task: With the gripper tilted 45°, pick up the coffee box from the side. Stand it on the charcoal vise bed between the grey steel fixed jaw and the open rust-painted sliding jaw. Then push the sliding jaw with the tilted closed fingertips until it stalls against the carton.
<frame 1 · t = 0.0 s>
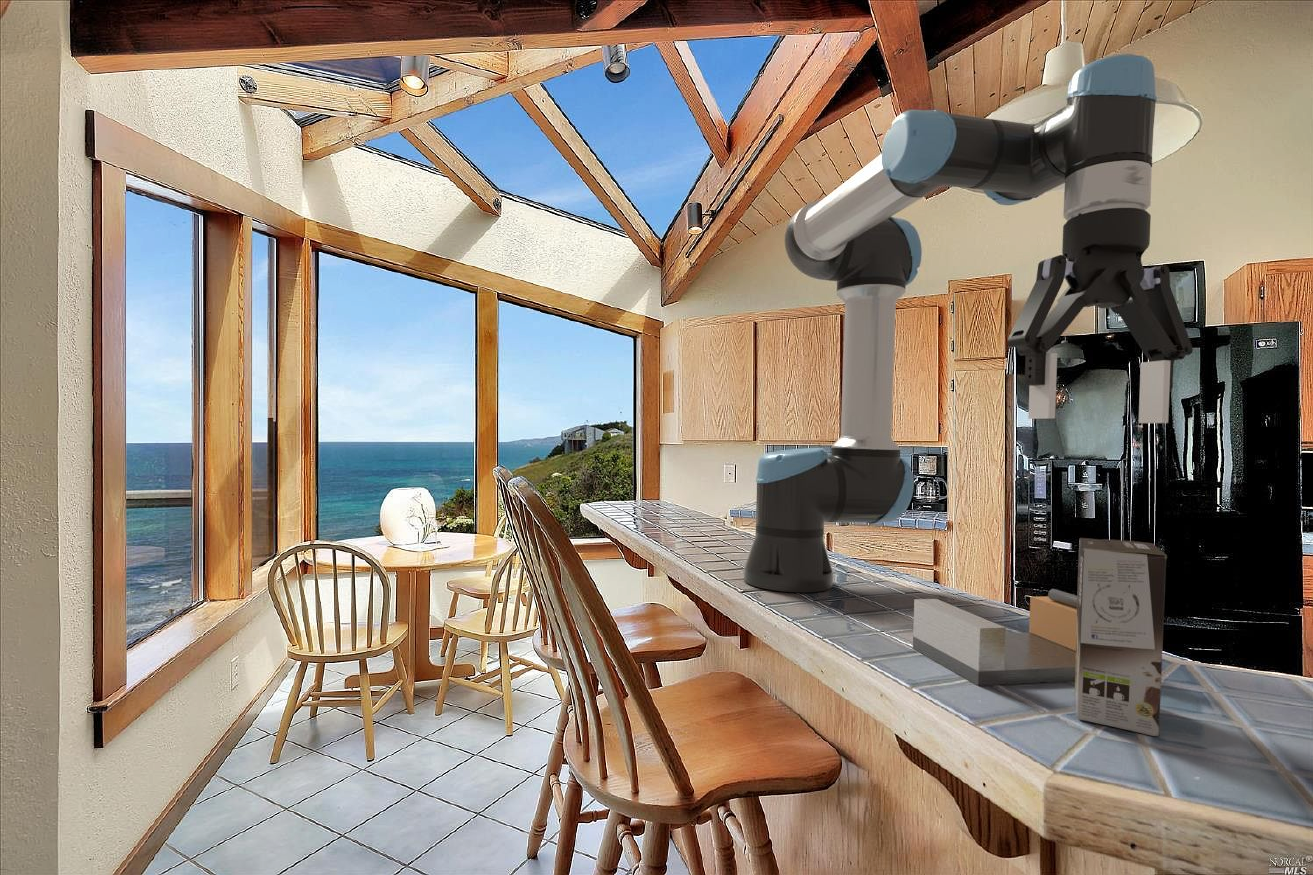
hand: (1098, 421, 69), 28 cm above the counter, tool pointing down, fingers open, 13 cm apart
coffee box: (1113, 714, 63), on the counter
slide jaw: (1078, 621, 78), point 5 cm above the counter, slide at 4.1 cm
vise bed: (1020, 662, 77), on the counter
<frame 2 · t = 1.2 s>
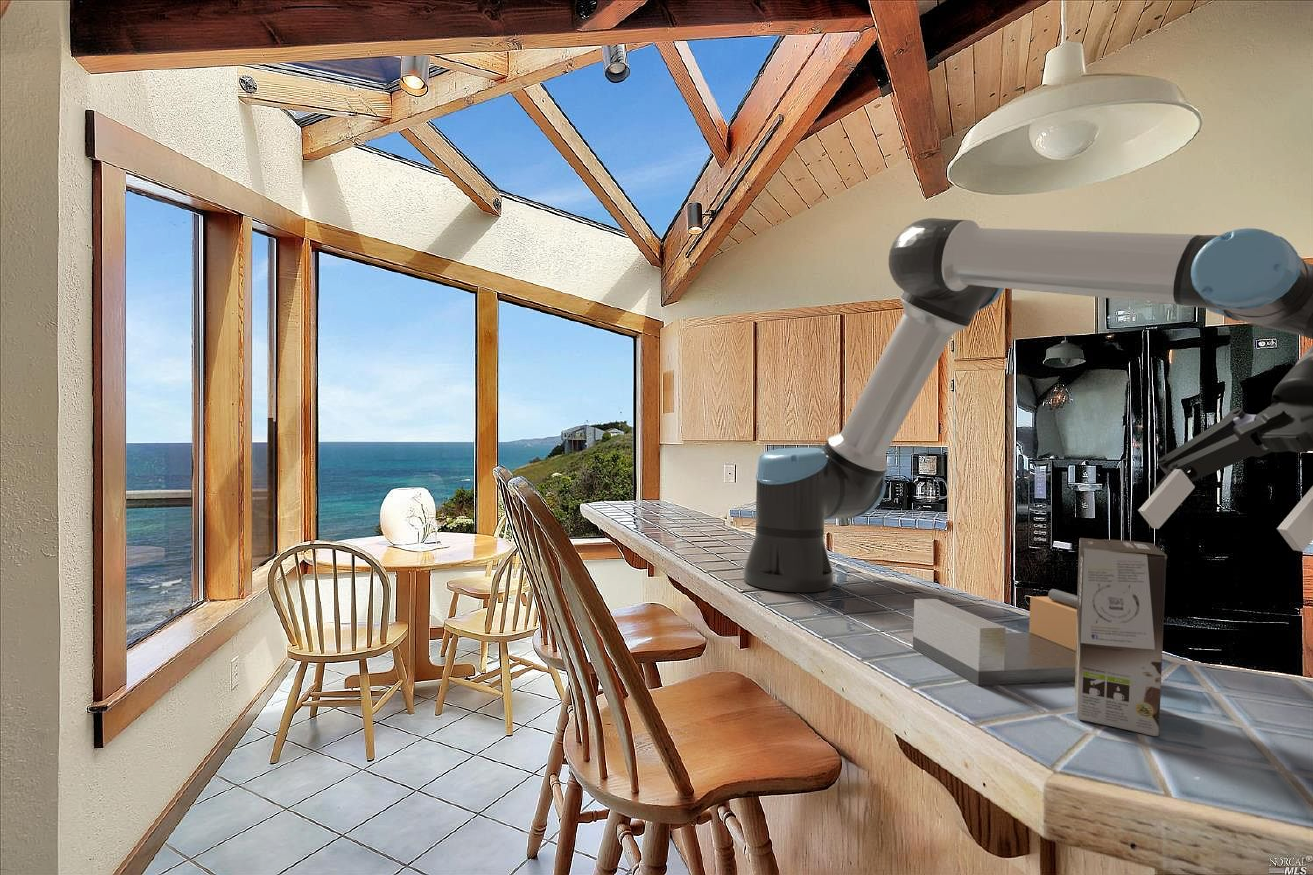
hand: (1211, 529, 65), 18 cm above the counter, tool tilted 45°, fingers open, 13 cm apart
nothing on the counter moved.
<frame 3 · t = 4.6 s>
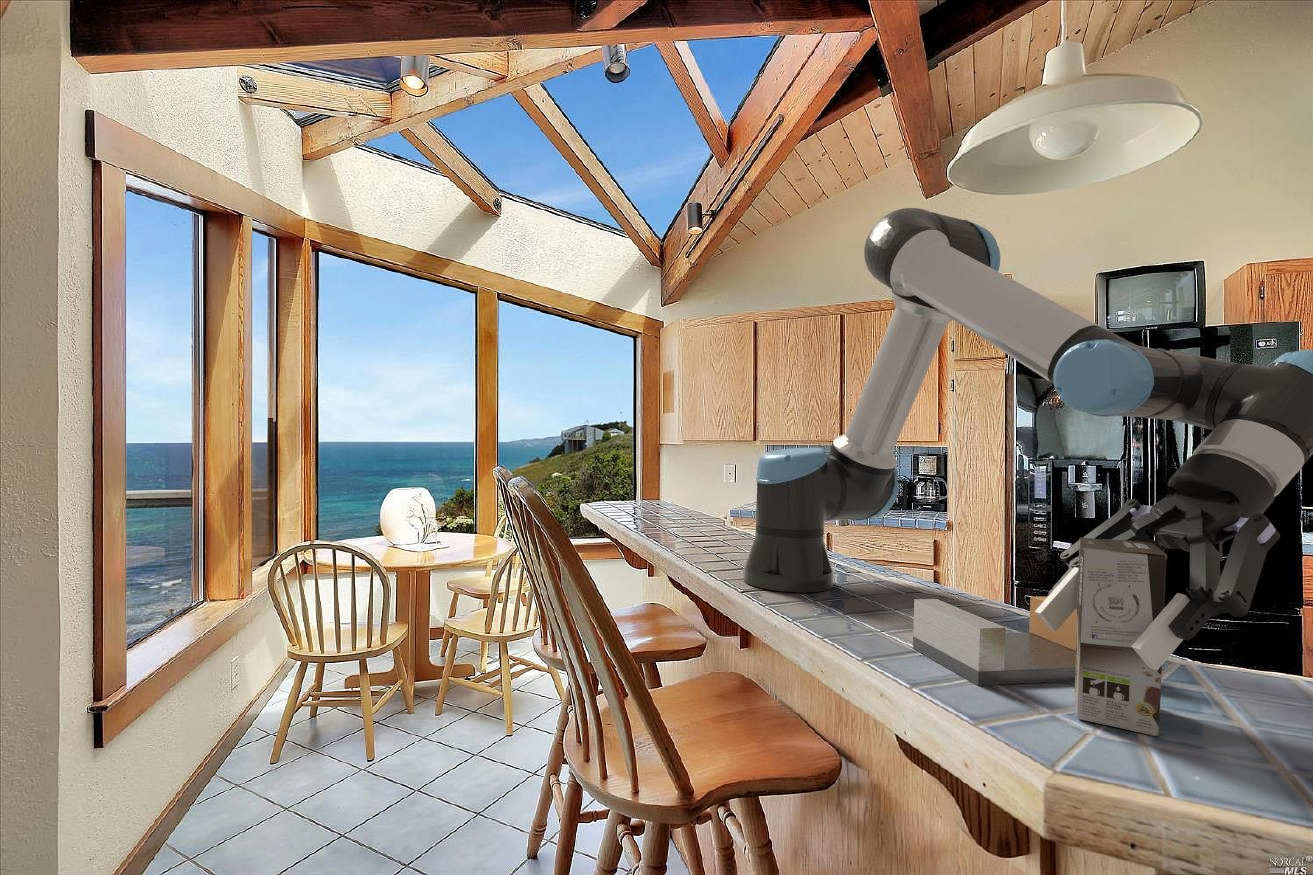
hand: (1090, 638, 63), 7 cm above the counter, tool tilted 45°, fingers closed on coffee box, 10 cm apart
coffee box: (1113, 713, 63), on the counter, touching gripper
everything else where it was.
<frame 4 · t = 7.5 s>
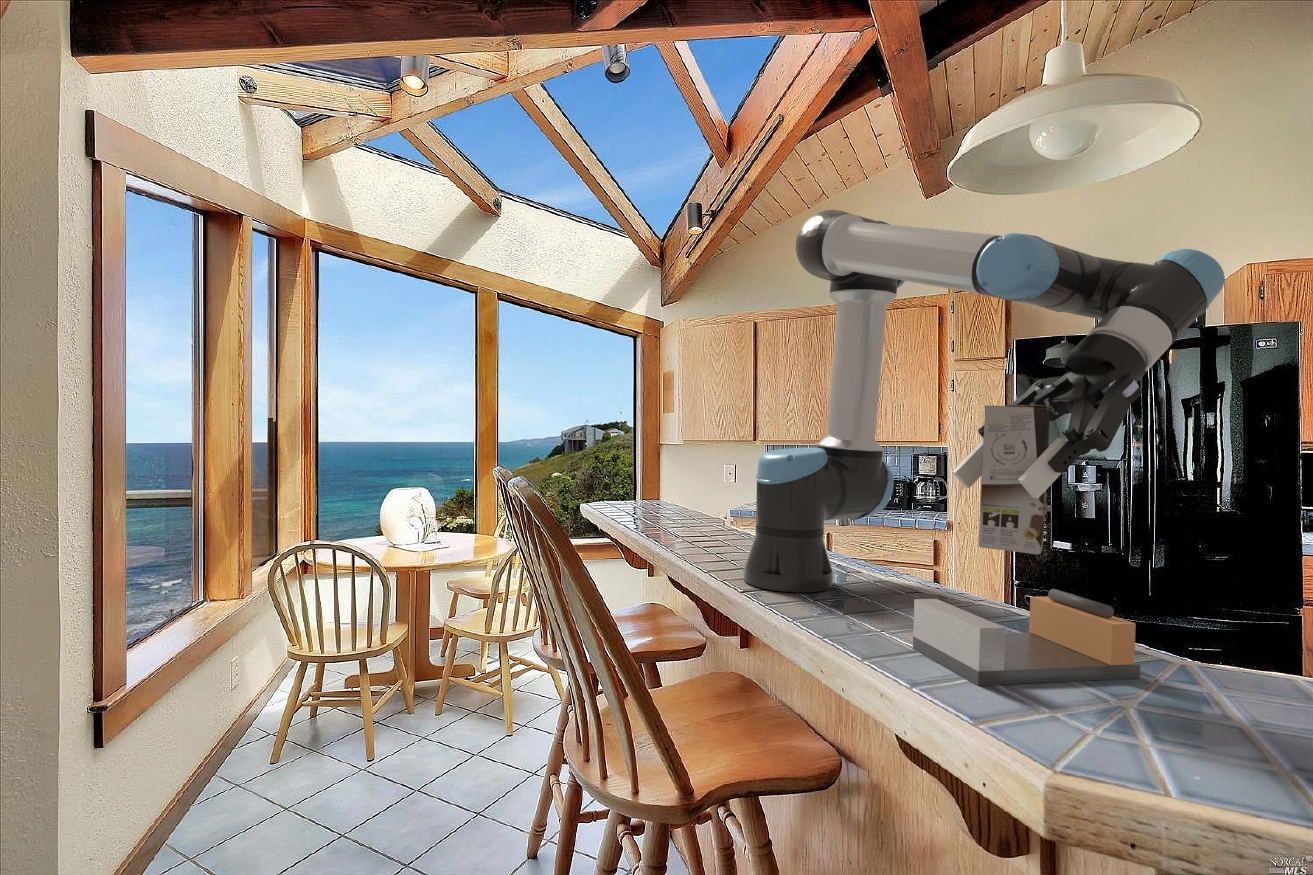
hand: (991, 484, 75), 21 cm above the counter, tool tilted 45°, fingers closed on coffee box, 10 cm apart
coffee box: (1011, 547, 76), point 13 cm above the counter, touching gripper
everything else where it was.
when the fingers open (10 cm above the counter, at t = 10.2 s): coffee box drops 1 cm, resting on vise bed.
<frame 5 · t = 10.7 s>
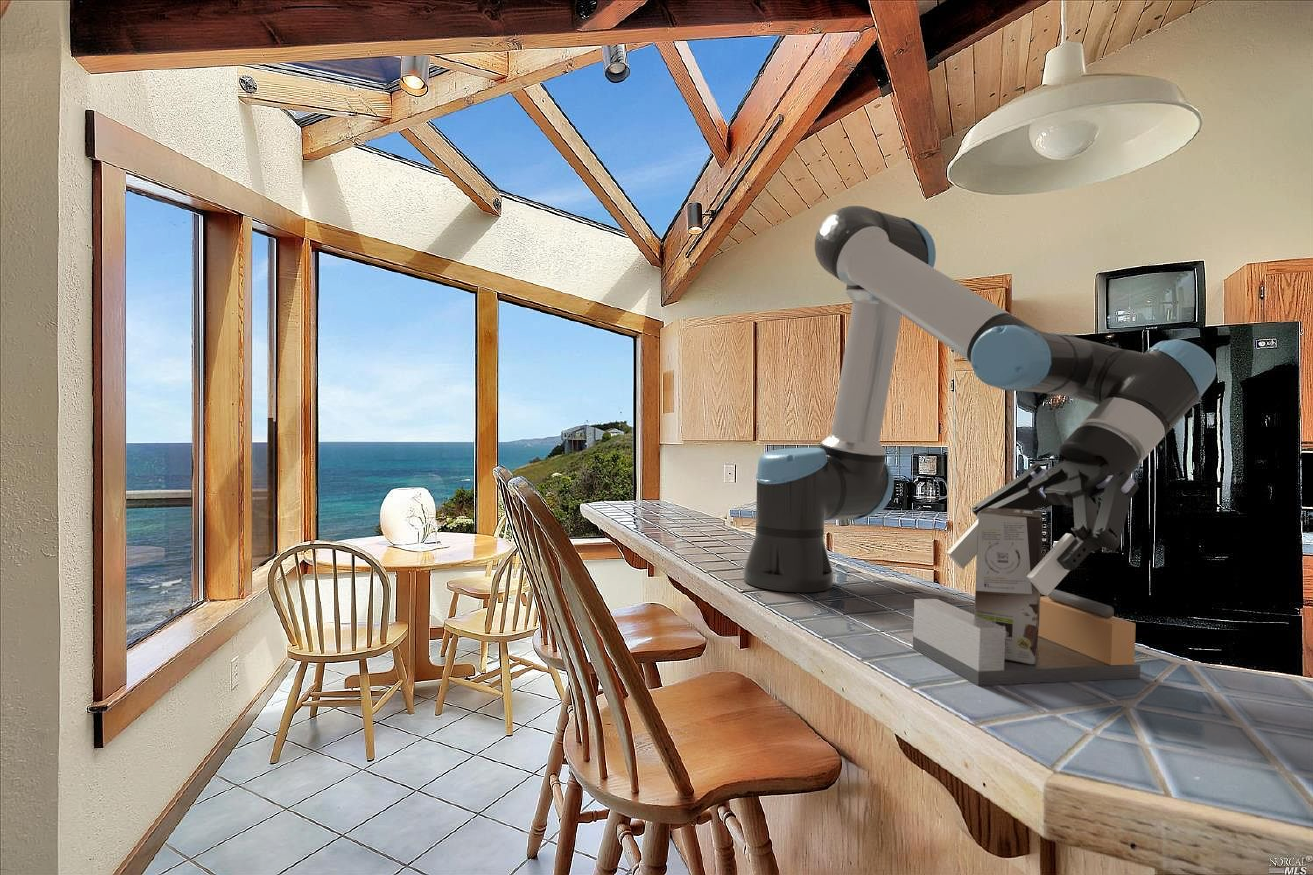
hand: (991, 572, 76), 10 cm above the counter, tool tilted 45°, fingers open, 13 cm apart
coffee box: (1006, 651, 77), point 1 cm above the counter, touching vise bed
everything else where it was.
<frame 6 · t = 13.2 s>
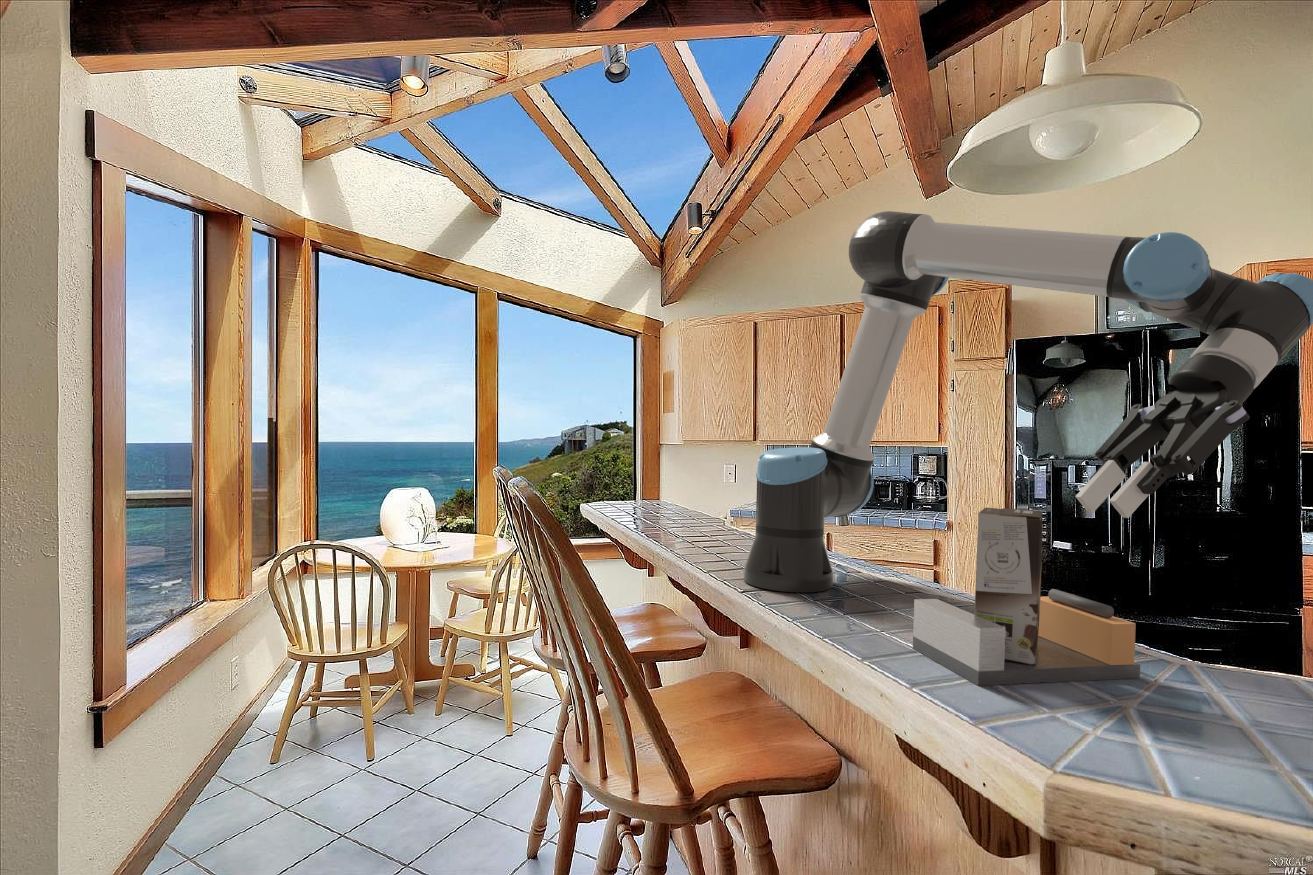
hand: (1101, 506, 78), 18 cm above the counter, tool tilted 45°, fingers open, 4 cm apart
nothing on the counter moved.
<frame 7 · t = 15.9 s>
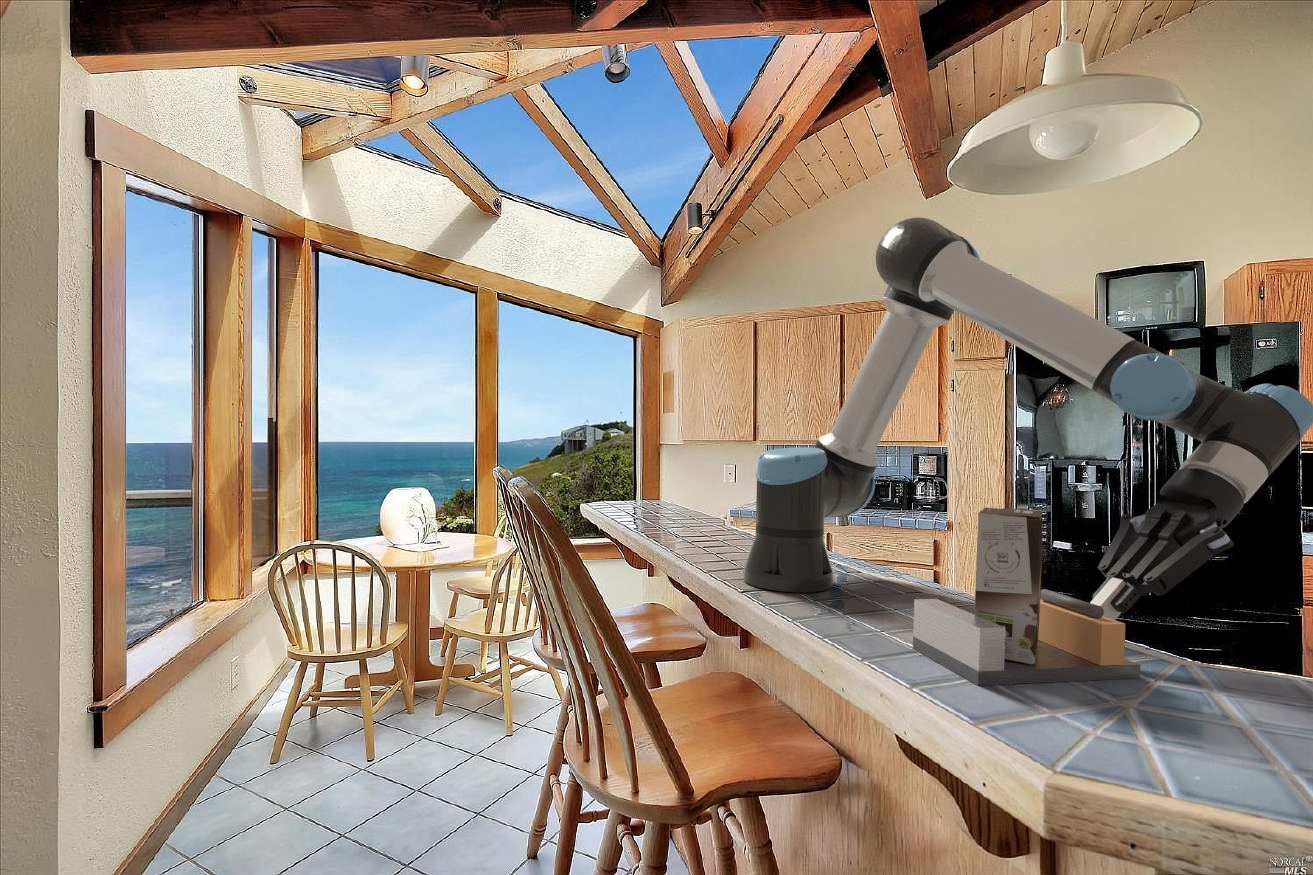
hand: (1090, 625, 78), 4 cm above the counter, tool tilted 45°, fingers closed
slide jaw: (1069, 622, 78), point 5 cm above the counter, slide at 2.8 cm, touching gripper
everything else where it was.
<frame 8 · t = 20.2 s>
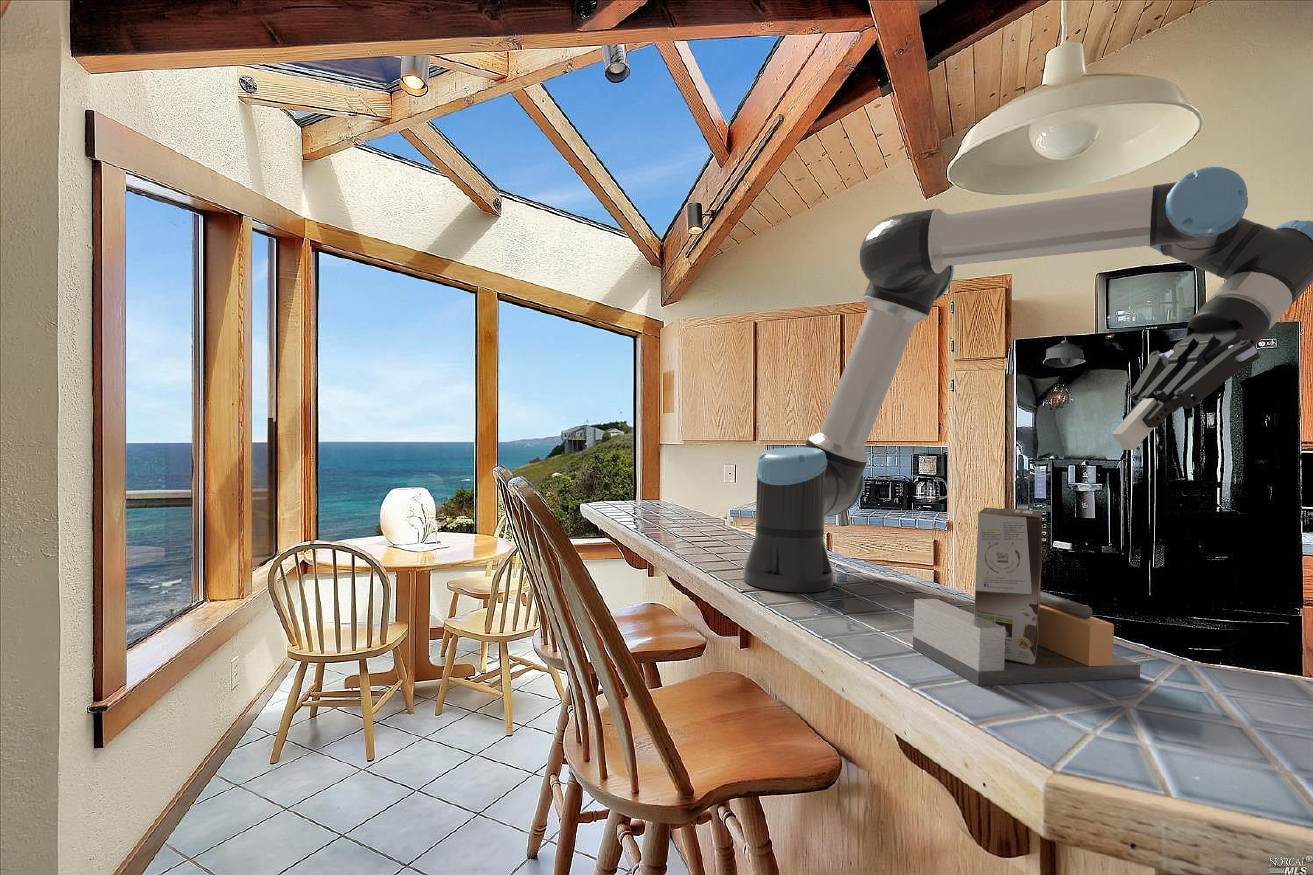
hand: (1122, 441, 82), 26 cm above the counter, tool tilted 45°, fingers closed
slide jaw: (1058, 622, 78), point 5 cm above the counter, slide at 1.3 cm
everything else where it was.
at the end: coffee box 0.4 cm from the target spot, point 1.3 cm above the counter; coffee box tilted 0°; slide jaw slide at 1.3 cm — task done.
